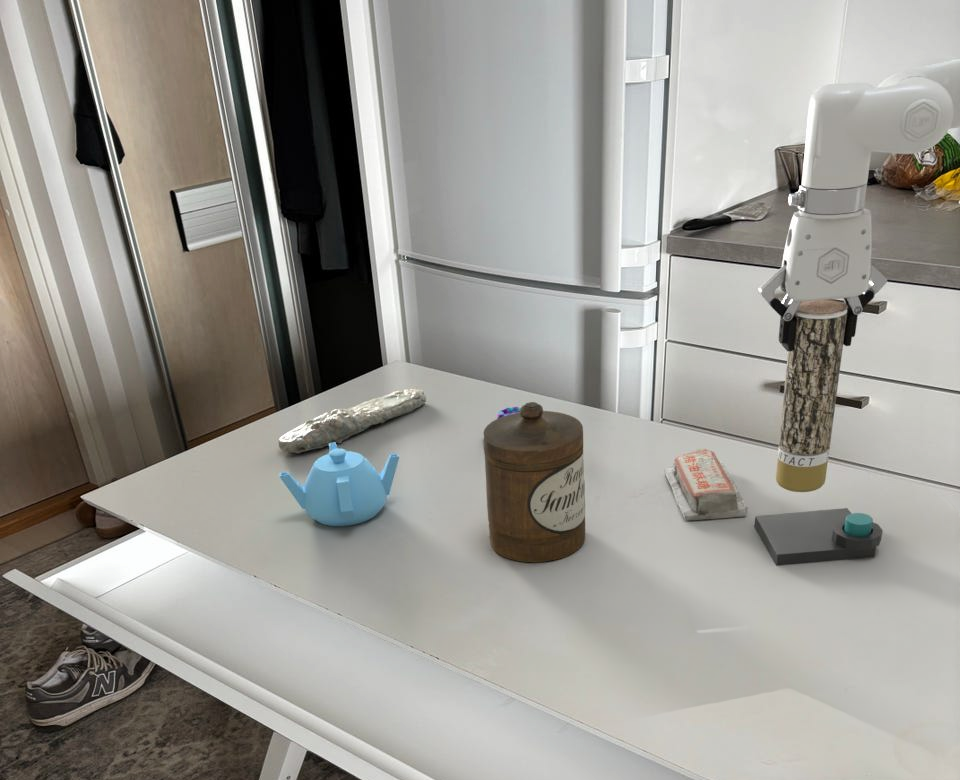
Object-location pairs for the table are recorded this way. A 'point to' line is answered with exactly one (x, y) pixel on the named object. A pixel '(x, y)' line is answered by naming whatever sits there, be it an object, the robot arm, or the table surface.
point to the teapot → (343, 487)
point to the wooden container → (535, 484)
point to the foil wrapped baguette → (350, 421)
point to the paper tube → (810, 395)
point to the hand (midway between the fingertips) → (815, 344)
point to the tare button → (858, 524)
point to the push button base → (814, 537)
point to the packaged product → (704, 487)
